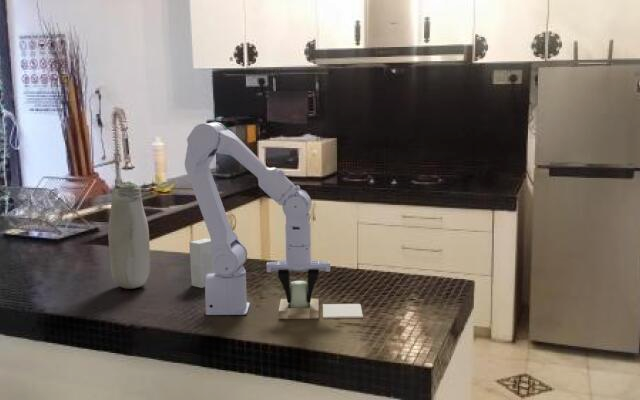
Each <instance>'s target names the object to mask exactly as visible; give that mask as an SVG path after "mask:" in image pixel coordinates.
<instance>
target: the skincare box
mask: <svg viewBox="0 0 640 400" xmlns="http://www.w3.org/2000/svg"><path fill="white" fill-rule="evenodd" d="M210 242H211V238H207V237H205V238H202V239H198V240H197V239H196V240H194V241H193V240H192V241H189V260H190V278H191V279H190V281H191V286H193V287H197V288H200V289H203V288H205V280H206V275H207V274H213V273H215V271H214V269H213V267H212V253H211V250H210Z"/></svg>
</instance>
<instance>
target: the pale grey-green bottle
mask: <svg viewBox="0 0 640 400" xmlns="http://www.w3.org/2000/svg"><path fill="white" fill-rule="evenodd" d="M110 199H111V200H110V201H111V202H110V212H109V218H108V224H107V225H108V228H107V234H108V235H107V237H108V248H109V251H108V252H109V263H110V272H111V276H112V279H113V282H115V283H116V285H118V286H119V287H120V288H123V289H126V290H129V289H130V290H131V289H137V288H141V287H142V286H143V285H145V283H146V282H147V280H148V278H149V276H150V273H151V258H150V257H151V256H150V255H151V254H150V230H149V223H148V218H147V215H146V212H145V209H144V208H145V207H144V204H143V197H142V192H141V189H140V188H139V186H138V185H137V184H135V183H134V182H131V181H123V182H120V183H117V184H115V186H114V187H113V188H112V191H111V198H110Z"/></svg>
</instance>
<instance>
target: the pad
mask: <svg viewBox="0 0 640 400" xmlns="http://www.w3.org/2000/svg"><path fill="white" fill-rule="evenodd" d="M363 318H364V316H363V310H362V305H361V303H323V304H322V319H363Z"/></svg>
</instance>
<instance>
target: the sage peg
mask: <svg viewBox="0 0 640 400" xmlns="http://www.w3.org/2000/svg"><path fill="white" fill-rule="evenodd" d="M307 298H308V281H305V280H294V281H290V300H291V302H290V304H291V308H308V301H307Z"/></svg>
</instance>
